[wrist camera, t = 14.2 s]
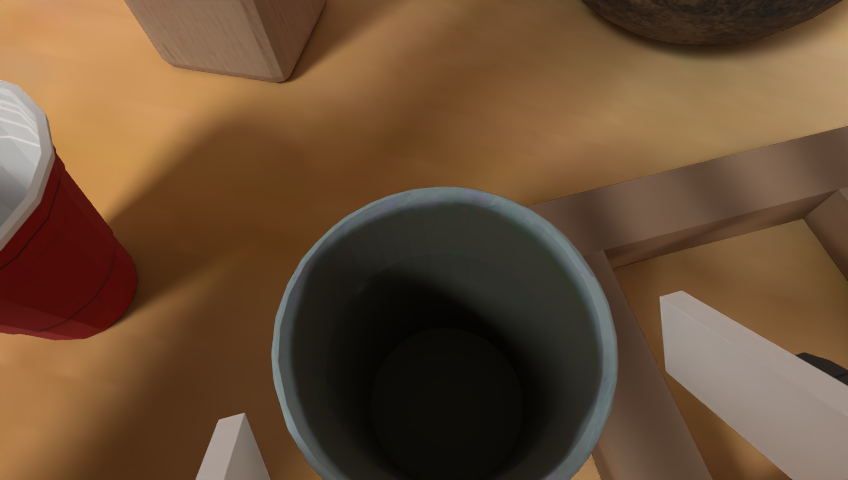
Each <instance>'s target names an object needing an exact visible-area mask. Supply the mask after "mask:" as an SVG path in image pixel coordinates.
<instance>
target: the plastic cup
mask: <svg viewBox="0 0 848 480" xmlns="http://www.w3.org/2000/svg"><path fill="white" fill-rule="evenodd" d="M137 282H138V278H137V273H136V269H135V264H134V263H133V262H132V258H131V256H130V255H129V254H128V253H127V252H126V250H125V249H124V248H123V247H122V245H121V244H120V243H119V242H118V241H117V239H116V238H115V237H114V236H113V233H112V230H111V229H110V227H109V226H108V225H107V223H106V222H105V221H104V219H103V218H102V217H101V216H100V214H99V213H98V212H97V210H96V209H95V208H94V206H93V205H92V204H91V202H90V201H89V200H88V199H87V197H86V196H85V195H84V193H83V192H82V191H81V189H80V188H79V187H78V185H77V184H76V183H75V181H74V180H73V179H72V178H71V176H70V175H69V174H68V172H67V171H66V170H65V166H64V163H63V162H62V161H61V159H60V158H59V156H58V155H57V154H56V149H55V147H54V145H53V143H52V138H51V132H50V127H49V122H48V119H47V116H46V114H45V112H44V111H43V110H42V109H41V108H40V107H39V106H38V105H37V104H36V103H35V102H34V101H33V100H32V99H31V98H30V97H29V96H28V95H27V94H26V93H25V92H24V91H23V90H22V89H21V88H20V87H19V86H18V85H16V84H12V83H9V82H6V81H3V80H0V332H1V333H7V334H25V335H30V336H36V337H41V338H46V339H52V340H72V339H85V338H88V337H90V336H92V335H95V334H97V333H99V332H102V331H104V330H106V329H107V328H108V327H109V326H111V325H112V324H113V323H114V322H115V321H117V320H118V319H119V318H120V317H121V316H122V315H123V314H124V312H125V311H126V309H127V308H128V306H129V305H130V303H131V302H132V300H133V298H134V295H135V291H136V286H137Z"/></svg>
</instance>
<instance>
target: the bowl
mask: <svg viewBox="0 0 848 480" xmlns="http://www.w3.org/2000/svg"><path fill="white" fill-rule="evenodd" d="M582 1H583V2H584V3H585V4H586V5H587V6H589V7H590V8H591V9H593V10H594V11H595V12H597V13H598V14H600V15H601V16H602V17H604V18H605V19H607V20H609V21H611V22H613V23H615V24H617V25H619V26H621V27H623V28H625V29H627V30H629V31H631V32H634V33H636V34H639V35H642V36H645V37H648V38H651V39H656V40H661V41H666V42H671V43H678V44H692V45H708V46H710V45H724V44H737V43H741V42H746V41H750V40H755V39H759V38H763V37H765V36H768V35H771V34H774V33H777V32H779V31H782V30H785V29H788V28H790V27H792V26H795V25H797V24H800V23H802V22H805V21H807V20H809V19H812V18H814V17H815V16H817V15H819V14H820V13H822V12H824V11H825V10H827V9H829V8H830V7H832V6H834V5H835V4H837V3H839V2H840V1H842V0H582Z"/></svg>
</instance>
